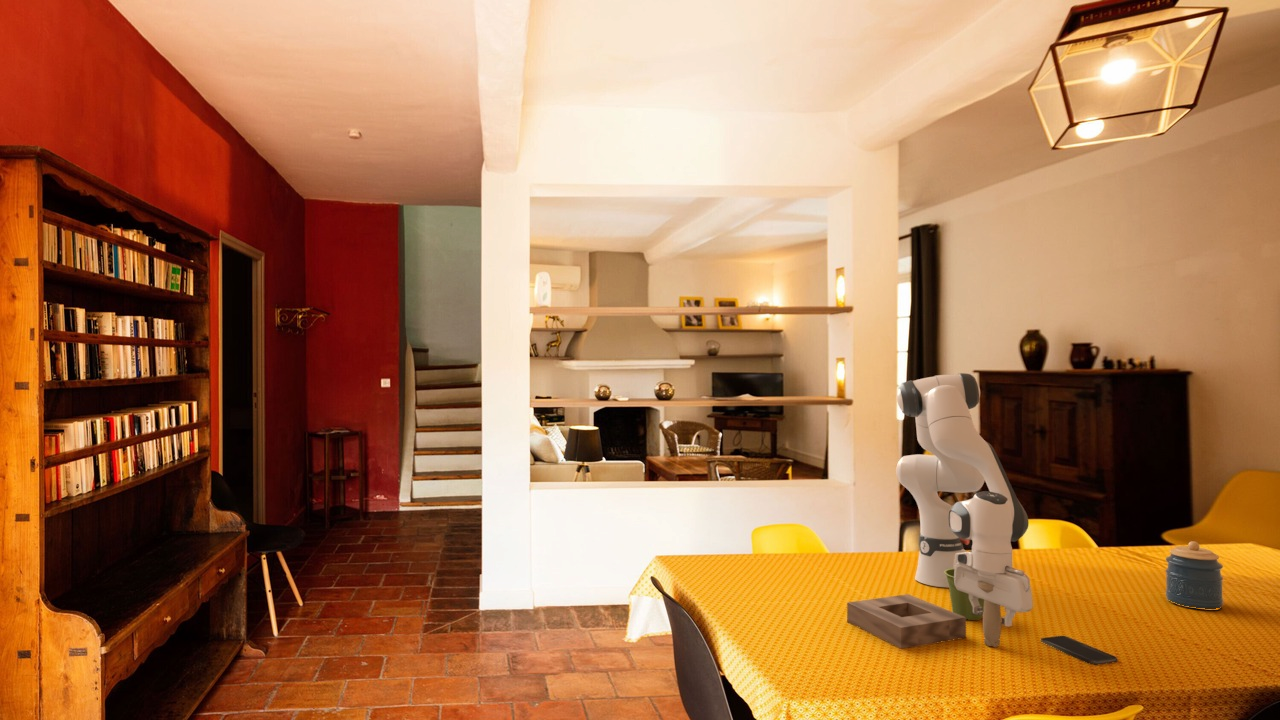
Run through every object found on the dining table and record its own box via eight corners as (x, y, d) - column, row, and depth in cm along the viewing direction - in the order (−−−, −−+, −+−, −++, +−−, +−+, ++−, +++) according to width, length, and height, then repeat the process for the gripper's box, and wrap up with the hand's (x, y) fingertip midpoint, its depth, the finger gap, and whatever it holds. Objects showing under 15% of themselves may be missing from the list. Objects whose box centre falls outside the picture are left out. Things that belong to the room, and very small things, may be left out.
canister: (1225, 603, 209) (1225, 541, 209) (1220, 615, 200) (1220, 549, 200) (1169, 594, 218) (1169, 534, 218) (1162, 604, 208) (1161, 541, 209)
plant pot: (972, 626, 190) (972, 582, 190) (934, 613, 200) (934, 571, 200) (1002, 619, 195) (1002, 576, 195) (964, 606, 205) (964, 566, 206)
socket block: (908, 612, 200) (908, 594, 200) (965, 637, 182) (965, 617, 182) (847, 621, 193) (847, 602, 193) (900, 649, 174) (900, 627, 174)
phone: (1093, 662, 165) (1038, 638, 179) (1093, 667, 165) (1038, 643, 179) (1120, 658, 167) (1064, 635, 182) (1120, 663, 167) (1064, 639, 182)
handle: (1010, 647, 175) (1010, 584, 175) (987, 650, 174) (987, 586, 174) (996, 640, 180) (996, 578, 180) (973, 642, 178) (973, 580, 178)
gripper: (1039, 571, 168) (1039, 632, 168) (968, 550, 187) (968, 605, 187) (1018, 574, 166) (1018, 636, 166) (949, 552, 185) (949, 608, 185)
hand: (991, 619), depth 177 cm, fingers open, 7 cm apart
